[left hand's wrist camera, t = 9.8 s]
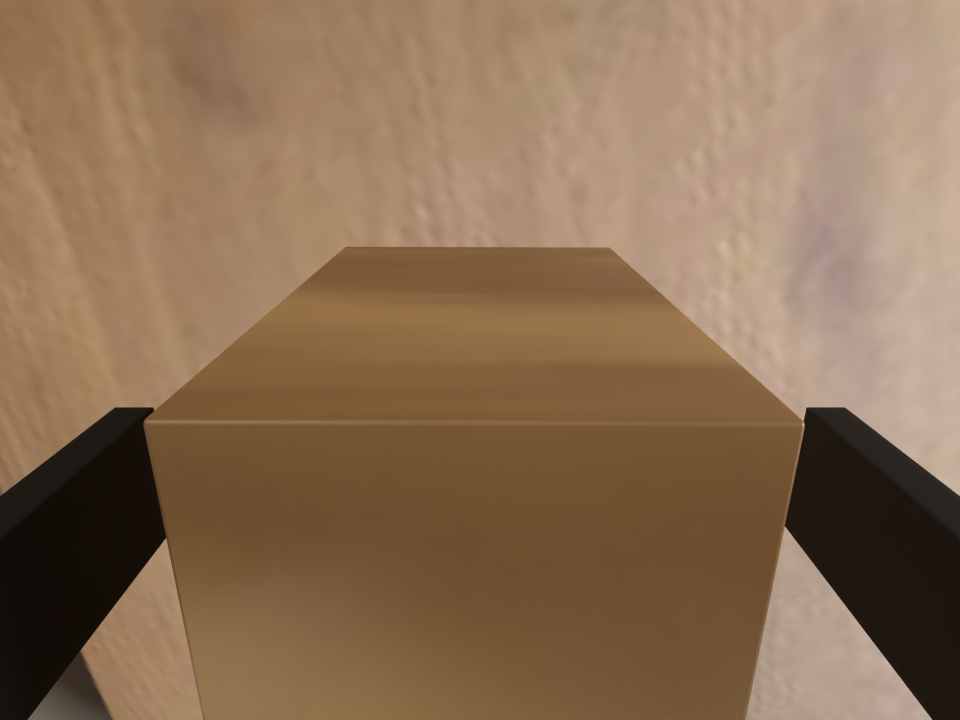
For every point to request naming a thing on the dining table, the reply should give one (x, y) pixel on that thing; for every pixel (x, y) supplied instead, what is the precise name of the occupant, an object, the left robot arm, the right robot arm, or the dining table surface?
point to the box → (474, 497)
